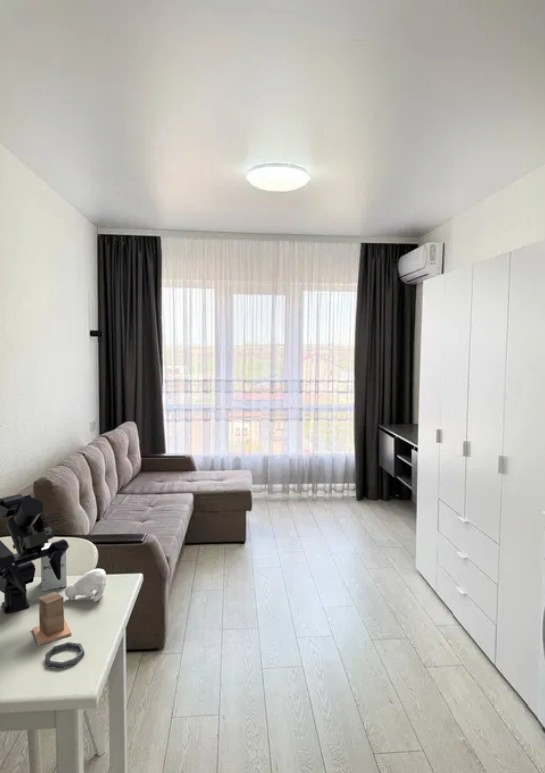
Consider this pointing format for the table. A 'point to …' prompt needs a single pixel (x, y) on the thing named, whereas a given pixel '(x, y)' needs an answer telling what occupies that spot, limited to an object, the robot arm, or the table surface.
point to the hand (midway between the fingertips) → (43, 585)
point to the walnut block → (51, 614)
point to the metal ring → (62, 647)
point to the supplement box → (52, 573)
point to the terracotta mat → (43, 638)
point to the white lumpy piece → (88, 585)
